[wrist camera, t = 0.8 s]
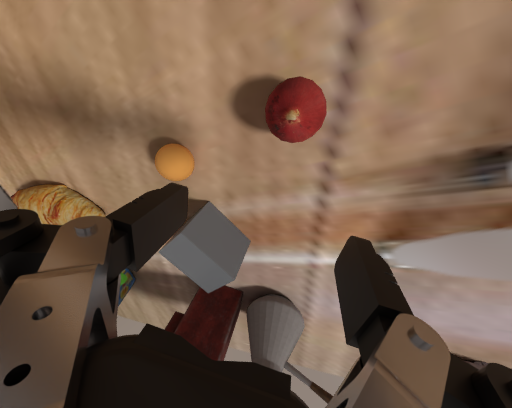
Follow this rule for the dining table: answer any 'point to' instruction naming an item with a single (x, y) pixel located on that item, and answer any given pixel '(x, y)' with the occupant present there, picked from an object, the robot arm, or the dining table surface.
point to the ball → (174, 162)
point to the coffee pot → (277, 336)
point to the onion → (295, 109)
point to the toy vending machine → (209, 321)
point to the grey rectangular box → (207, 249)
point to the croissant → (55, 203)
